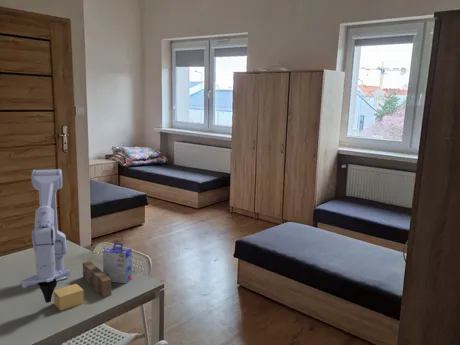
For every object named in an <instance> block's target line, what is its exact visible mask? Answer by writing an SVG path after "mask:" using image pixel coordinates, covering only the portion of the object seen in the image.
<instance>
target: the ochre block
mask: <svg viewBox="0 0 460 345" xmlns="http://www.w3.org/2000/svg"><path fill="white" fill-rule="evenodd" d="M84 294H85V292H84V289H83V288H82V287H81V285H78V283H74V284H71V285H68V286H63V287H60V288H57V289H54V291H53V294H52V296H53V305H55V306H56V307H57V308H58V310H59V311H63V310H66V309H69V308H73V307H76V306H79V305H81V304H84V303H85V295H84Z"/></svg>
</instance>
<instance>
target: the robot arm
mask: <svg viewBox="0 0 460 345" xmlns="http://www.w3.org/2000/svg"><path fill="white" fill-rule="evenodd" d="M30 178H31V179H30V180H31V186H32V187H33V188H34V190H36V191H38V202H39V207H38V208H36V210H35V212H34V213H35V215H34V218H35V219H34V229H32V231H31V242H32V246H33V252H34V256H35V257H34V258H35V259H34V260H35V271H36V274H35V275H31V276H30V277H28V278H24V279H22V280H21V286H22V288H23V289H25V288H28V287H29V286H34V285H36V284H37V286H38V287H39V289H40V290H41V293H42V295H43V297H44V302H45V303H46V304H48V303H51V302H52V297H53V291H54V290H56V289H55V288H56V286H57V285H58V281H62V280H66V279H68V278H69V277H70V276H71V271H70V270H69V269H68V268H66V269H65V262H64V259H65V258H64V255H66V254H67V253H68V252H67V251H68V246H67V244H68V243H67V238H66V237H67V236H66V234H65V233H64V232H62V231H60V230H59V227H58V212H57V193H58V192H57V191H58V190H61V189H62V188H63V170H62V169H61V168H58V169H53V168H52V169H33V170H32V171H31V176H30Z"/></svg>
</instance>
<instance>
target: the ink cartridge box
mask: <svg viewBox="0 0 460 345" xmlns="http://www.w3.org/2000/svg"><path fill="white" fill-rule="evenodd" d="M123 245H124V243H121V242H114V244H113V247H112V246H109V247H107V248H105V250H103V251H102V272H103V273H105V274H106V275H107V276H108V277H109V278H110V279H111V283H119V284H127V283H129V281H131V280H132V279H133V273H132V272H133V263H132V262H133V260H132V259H133V257H132V255H133V254H132V249H131V248H123V247H124V246H123Z"/></svg>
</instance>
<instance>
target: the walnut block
mask: <svg viewBox="0 0 460 345" xmlns="http://www.w3.org/2000/svg"><path fill="white" fill-rule="evenodd" d="M82 277H83V279H84V280H85V281H86V282H88V284H90V285H91V286H92V287H93V288H94V290H95V291H97V293H99V295H101V296H102V298H104V297H109V296H112V282H111V279H110V278H109V277H108V276H107V275H106V274H105V273H103V270H101V269H100V268H99V267H98V266H97V265H95V264H94V263H93V261H91V260H88V261H84V262H82Z"/></svg>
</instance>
